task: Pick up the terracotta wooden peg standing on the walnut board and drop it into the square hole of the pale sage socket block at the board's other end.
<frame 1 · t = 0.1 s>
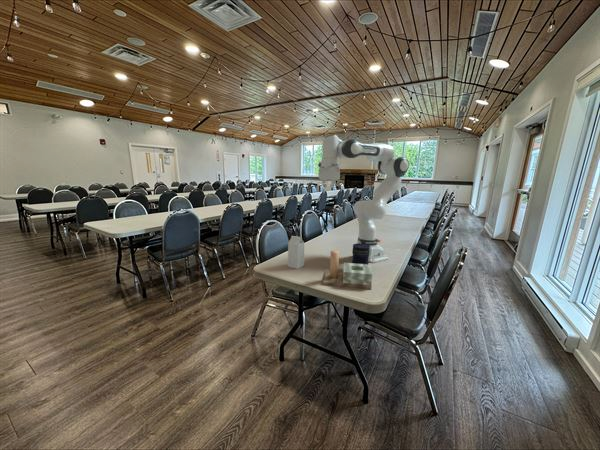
hand: (328, 187, 149), 48 cm above the table, tool pointing down, fingers open, 8 cm apart
socket board: (346, 280, 133), on the table
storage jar: (359, 269, 149), on the table
milk carton: (296, 266, 153), on the table
peg: (333, 276, 134), point 1 cm above the table, touching socket board
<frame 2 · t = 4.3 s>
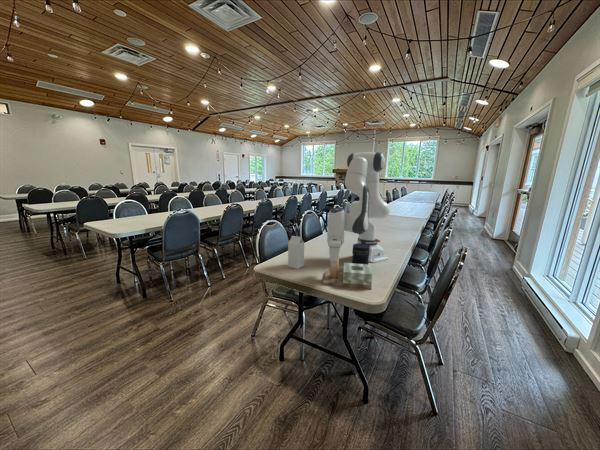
hand: (334, 264, 133), 9 cm above the table, tool pointing down, fingers closed on peg, 4 cm apart
peg: (333, 276, 134), point 2 cm above the table, touching gripper, socket board
everything else where it was.
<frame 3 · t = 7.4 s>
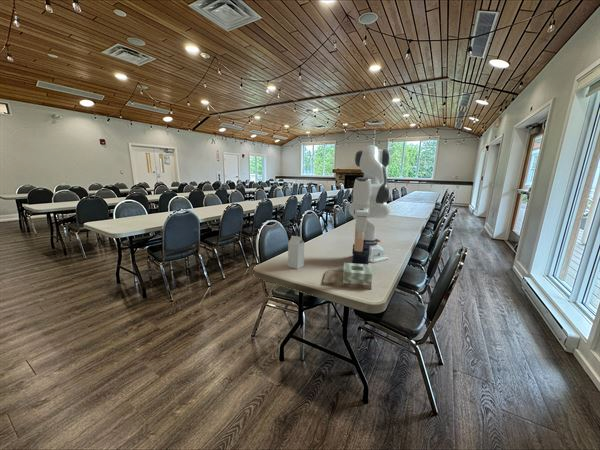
hand: (359, 236, 127), 24 cm above the table, tool pointing down, fingers closed on peg, 4 cm apart
peg: (358, 250, 129), point 17 cm above the table, touching gripper
everything else where it was.
when the fingers open (10 cm above the table, at t = 10.8 s): peg drops 1 cm, resting on socket board.
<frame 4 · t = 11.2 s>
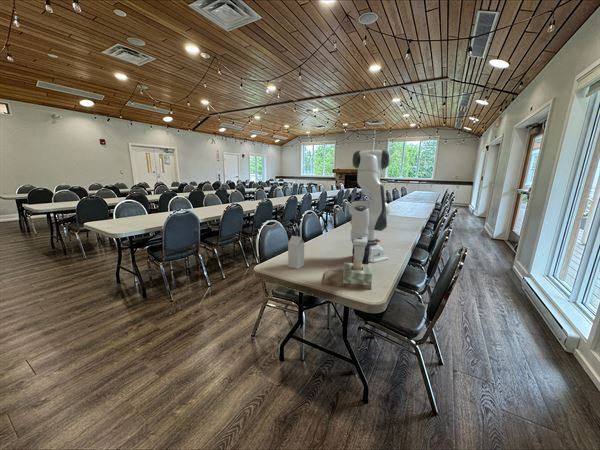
hand: (357, 263, 130), 10 cm above the table, tool pointing down, fingers open, 8 cm apart
peg: (356, 278, 132), point 2 cm above the table, touching socket board
everything else where it was.
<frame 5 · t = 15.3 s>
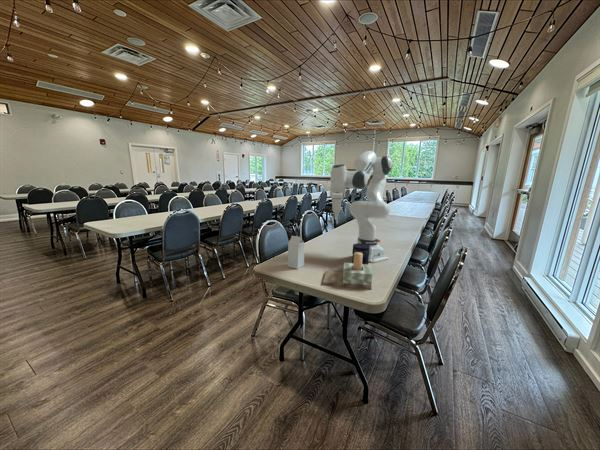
hand: (336, 218, 143), 31 cm above the table, tool pointing down, fingers open, 8 cm apart
nothing on the table moved.
at the end: peg 0.1 cm from the target spot on the socket board, point 1.5 cm above the socket board's base; peg tilted 0°; the gripper is holding nothing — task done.
